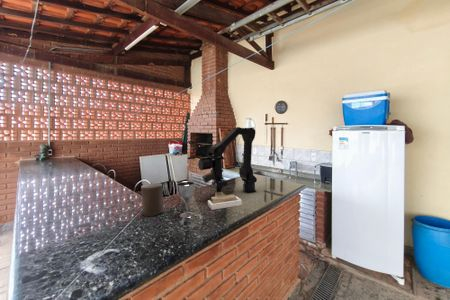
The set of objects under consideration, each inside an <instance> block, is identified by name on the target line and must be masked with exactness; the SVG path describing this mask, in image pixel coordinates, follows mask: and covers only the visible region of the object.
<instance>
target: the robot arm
mask: <svg viewBox="0 0 450 300" xmlns="http://www.w3.org/2000/svg"><path fill="white" fill-rule="evenodd" d="M256 134H257V132H256V129H255V128H254V127H241V126H235V127H233V128H232V130H230V132H229V133H228V134H227V135H226V136H224V137H223V138H222V139H221V141H219V142H216V143H215V144H213V145H211V146H210V147H209V151H208V153H207V154H206V156H205V157H199V160H198V163H197V167H198V169H199V170H200V171H206V170H210V172H208V173H206V174H204V175H202V176H201V178H202V180H203V182H204V184H206V183H209V182H211V181H212V182H211V184H212V185H213V186H214V189H215V193H217V192H222V190H223V187H227V186H229V185H228V184H229V183H228V181H227V180H226V179H225V178H224V177H223V172H224V169H223V160H226V158H225V157H224V155H223V154H224V153H225V152H226V149H227V147H228V146H229V145H230V144H231V143H232V142H233V141H234V140H235V139H236V138H237V137H238V136H239V135H240V136H241V138H242V141H243V153H242V154H243V156H242V157H243V158H242V160H243V161H242V166H241V167H239V168H238V170H239V172H238V175H239V177H240V178H241V181H242V182H243V184H242V191H243V192H245V193H247V194H248V193H255V192H257V190H256V185H255V184H256V183H257V180H258V179H257V177H256V176H255V175H254V169H253V168H252V153H253V152H252V149H253V148H252V147H253V142H254V140H255V137H256Z"/></svg>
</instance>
